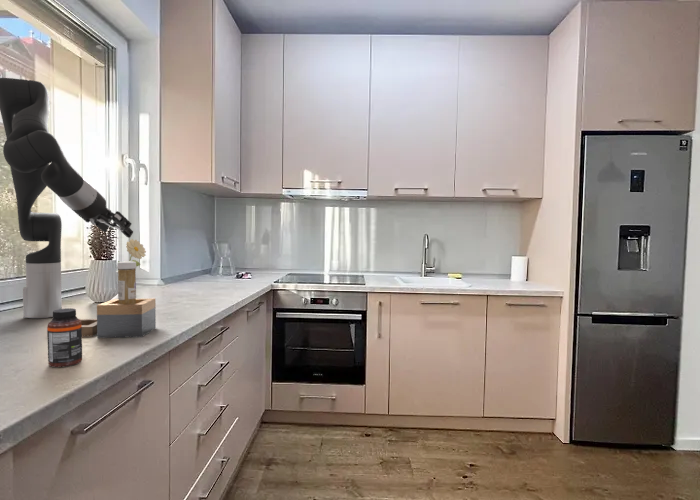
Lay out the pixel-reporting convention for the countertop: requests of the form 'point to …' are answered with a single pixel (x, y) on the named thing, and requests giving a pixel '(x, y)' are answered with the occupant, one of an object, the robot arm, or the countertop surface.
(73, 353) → the supplement bottle
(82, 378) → the countertop surface
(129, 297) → the seasoning jar
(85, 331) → the walnut stand
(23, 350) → the countertop surface
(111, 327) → the grey wooden square box
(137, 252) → the flower in vase
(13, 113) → the robot arm
